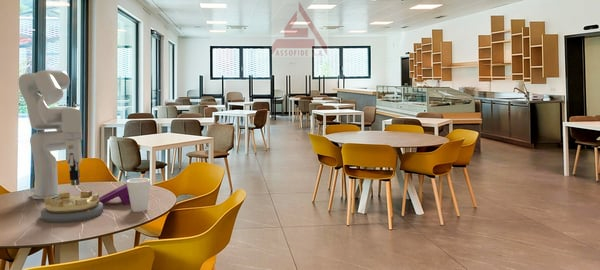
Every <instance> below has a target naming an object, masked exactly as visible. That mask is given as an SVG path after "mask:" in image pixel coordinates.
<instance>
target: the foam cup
mask: <svg viewBox="0 0 600 270" xmlns="http://www.w3.org/2000/svg"><path fill="white" fill-rule="evenodd" d="M126 183H127V187H128V193H129V198H130V204H129V205H130V207H131V211H132V212H134V213H137V212H139V213H140V212H145V211H147V210H148V205H149V199H150V195H149V194H150V188H151V179H150V178H147V177H138V178H130V179H127V180H126Z"/></svg>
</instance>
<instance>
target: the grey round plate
mask: <svg viewBox="0 0 600 270" xmlns="http://www.w3.org/2000/svg"><path fill="white" fill-rule="evenodd" d="M103 213H104V204H103V203H101V202H99V205H98V206H97V207H95V208H93V209H90V210H86V211H81V212H75V213H62V214H58V213H49V212H46V211H45V207H44V208H42V209H41V210H40V219H41V221H42V222H45V223H51V224H52V223H53V224H54V223H55V224H60V223H61V224H62V223H63V224H64V223H66V224H67V223H75V222H81V221H86V220H91V219H93V218H97V217H98V216H101V215H102V214H103ZM96 216H97V217H96Z"/></svg>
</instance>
